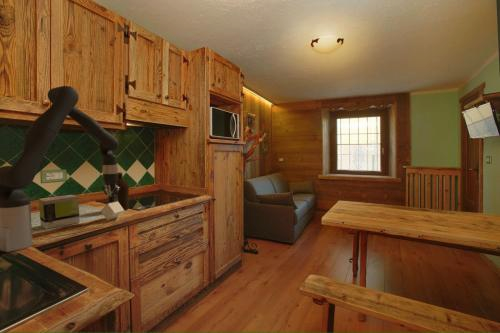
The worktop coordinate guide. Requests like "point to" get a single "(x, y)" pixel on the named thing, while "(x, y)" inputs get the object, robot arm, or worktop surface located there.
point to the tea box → (59, 211)
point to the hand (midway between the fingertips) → (111, 202)
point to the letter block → (112, 210)
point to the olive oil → (122, 192)
